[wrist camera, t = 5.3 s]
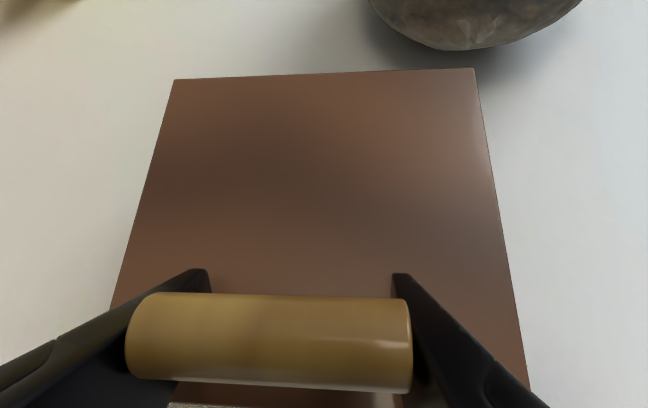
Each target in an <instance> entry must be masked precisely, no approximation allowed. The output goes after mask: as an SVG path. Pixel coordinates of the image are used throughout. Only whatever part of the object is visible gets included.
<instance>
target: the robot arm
mask: <svg viewBox="0 0 648 408" xmlns="http://www.w3.org/2000/svg"><path fill="white" fill-rule="evenodd" d="M156 292H186V293H212V290H211V285H210V280H209V275H208V272H207V270H205V269H201V268H191V269H189V270H187V271H185V272H183V273H181V274H179V275H177V276H175V277H173V278H171V279H169V280H167V281H165V282H163V283H162V284H160V285H158V286H156V287H154V288H152V289H150V290H148V291H146V292H144V293H142V294H140V295H138V296H136V297H134V298H133V299H131V300H129V301H127V302H125V303H123V304H121V305H119V306H117V307H115V308H113V309H111V310H109V311H107V312H105V313H104V314H102V315H100V316H98V317H96V318H94V319H92V320H90V321H88V322H86V323H84V324H82V325H80V326H78V327H76V328H75V329H73V330H71V331H69V332H67V333H65V334H63V335H61V336H59V337H58V338H57V339H56V340H55V339H53V340H51V341H49V342H47V343H45V344H43V345H41V346H40V347H38V348H36V349H34V350H32V351H30V352H28V353H26V354H24V355H22V356H20V357H18V358H16V359H14V360H12V361H10V362H8V363H6V364H4V365H2V366H0V408H167V406H168V404H169V402H170V400H171V398H172V396H173V394H174V392H175V390H176V388H177V386H178V383H179V381H173V380H156V379H140V378H137V377H136V376H134V375H133V374H132V373H131V372H130V371H129V370H128V368H127V365H126V362H125V356H124V344H125V336H126V332H127V328H128V325H129V322H130V320H131V317H132V315H133V313H134V311H135V310H136V308H137V307H138V305H139V304H140V303H141V302H142V301H143V300H144V299H145V298H146V297H147V296H149V295H151V294H153V293H156ZM391 298H395V299H403V300H405V301H406V304H407V306H408V310H409V315H410V321H411V330H412V343H413V378H412V385H411V389H410V392H409V393H406V394H401V398H402V403H403V408H550V407H549V406H548V405H546V404H545V403H544V402H543V401H542V400H541V399H539V398H538V397H537V396H536V395H535V394H534V393H532V392H531V391H530V390H529V389H528V388H527V387H526V386H525V385H524V384H523V383H522V382H521V381H519V380H518V379H517V378H516V377H515V376H514V375H513V374H512V373H511V372H510V371H509V370H508V369H507V368H506V367H505V366H504V365H503V364H502V363H501V362H500V361H498V360H496V358H495V357H494V356H493V355H492V354H491V353H490V352H489V351H488V350H487V349H486V348H485V347H484V346H483V345H482V344H481V343H480V342H479V341H478V340H477V339H476V338H475V337H474V336H473V335H471V334H470V333H469V332H468V331H467V330H466V329H465V328H464V327H463V326H462V325H461V324H460V323H459V322H458V321H457V320H456V319H455V318H454V317H453V316H452V315H451V314H450V313H449V312H448V311H447V310H446V309H445V308H444V307H443V306H442V305H441V304H440V303H439V302H437V301H436V300H435V299H434V298H433V297H432V296H431V295H430V294H429V293H428V292H427V291H426V290H425V289H424V288H423V287H422V286H421V285H420V284H419V283H418V282H417V281H416V280H415V279H414V278H413V277H412V276H411V275H410V274H408V273H393V274H392V277H391Z"/></svg>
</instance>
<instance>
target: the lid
mask: <svg viewBox="0 0 648 408" xmlns="http://www.w3.org/2000/svg"><path fill="white" fill-rule="evenodd" d="M191 268H201V269H205V270H207V272H208V275H209V280H210V285H211V290H212V293H186V292H156V293H153V294H151V295H149V296H147V297H146V298H145V299H144V300H143V301H142V302H141V303H140V304H139V305H138V307H137V308H136V310H135V311H134V313H133V315H132V317H131V320H130V322H129V325H128V328H127V332H126V336H125V344H124V356H125V362H126V365H127V368H128V370H129V371H130V372H131V373H132V374H133V375H134V376H136V377H137V378H140V379H156V380H173V381H179V383H178V386H177V388H176V390H175V392H174V394H173V396H172V398H171V400H170V402H169V403H180V404H195V405H210V406H226V407H241V408H403V403H402V398H401V394H406V393H409V392H410V389H411V385H412V378H413V343H412V330H411V321H410V315H409V310H408V306H407V304H406V301H405V300H403V299H395V298H391V277H392V274H393V273H408V274H410V275H411V276H412V277H413V278H414V279H415V280H416V281H417V282H418V283H419V284H420V285H421V286H422V287H423V288H424V289H425V290H426V291H427V292H428V293H429V294H430V295H431V296H432V297H433V298H434V299H435V300H436V301H437V302H439V303H440V304H441V305H442V306H443V307H444V308H445V309H446V310H447V311H448V312H449V313H450V314H451V315H452V316H453V317H454V318H455V319H456V320H457V321H458V322H459V323H460V324H461V325H462V326H463V327H464V328H465V329H466V330H467V331H468V332H469V333H470V334H471V335H473V336H474V337H475V338H476V339H477V340H478V341H479V342H480V343H481V344H482V345H483V346H484V347H485V348H486V349H487V350H488V351H489V352H490V353H491V354H492V355H493V356H494V357H495V358H496V360H498V361H500V362H501V363H502V364H503V365H504V366H505V367H506V368H507V369H508V370H509V371H510V372H511V373H512V374H513V375H514V376H515V377H516V378H517V379H518V380H519V381H521V382H522V383H523V384H524V385H525V386H526V387H527V388H528V389H529V390H530V391H531V389H530V383H529V377H528V372H527V366H526V360H525V355H524V349H523V343H522V338H521V332H520V326H519V321H518V315H517V309H516V304H515V298H514V292H513V286H512V281H511V275H510V269H509V264H508V258H507V252H506V247H505V241H504V235H503V230H502V224H501V218H500V213H499V207H498V201H497V196H496V190H495V184H494V179H493V173H492V167H491V162H490V156H489V150H488V144H487V139H486V133H485V127H484V122H483V116H482V110H481V105H480V99H479V93H478V88H477V82H476V76H475V71H474V67H464V68H440V69H416V70H392V71H367V72H343V73H319V74H295V75H270V76H246V77H222V78H198V79H175V80H174V82H173V86H172V89H171V93H170V96H169V100H168V103H167V107H166V110H165V114H164V117H163V121H162V125H161V128H160V132H159V135H158V139H157V142H156V146H155V149H154V153H153V156H152V160H151V164H150V167H149V171H148V174H147V178H146V181H145V185H144V188H143V192H142V195H141V199H140V202H139V206H138V210H137V213H136V217H135V220H134V224H133V227H132V231H131V234H130V238H129V241H128V245H127V249H126V252H125V256H124V259H123V263H122V266H121V270H120V273H119V277H118V280H117V284H116V287H115V291H114V295H113V298H112V302H111V305H110V309H109V310H111V309H113V308H115V307H117V306H119V305H121V304H123V303H125V302H127V301H129V300H131V299H133V298H134V297H136V296H138V295H140V294H142V293H144V292H146V291H148V290H150V289H152V288H154V287H156V286H158V285H160V284H162V283H163V282H165V281H167V280H169V279H171V278H173V277H175V276H177V275H179V274H181V273H183V272H185V271H187V270H189V269H191Z"/></svg>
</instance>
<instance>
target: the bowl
mask: <svg viewBox="0 0 648 408" xmlns="http://www.w3.org/2000/svg"><path fill="white" fill-rule="evenodd" d="M581 1H582V0H369V3H370V4H371V6H372V8H373V9H374V10H375V12H376V13H377V14H378V16H379V17H380V18H381V19H382V20H383V21H384V22H385V23H386V24H388V25H389V26H390V27H391V28H393V29H394V30H396V31H398V32H400V33H401V34H403V35H405V36H407V37H409V38H410V39H412V40H415V41H417V42H420V43H422V44H424V45H426V46H428V47H431V48H435V49H439V50H454V51H461V50H472V49H478V48H487V47H494V46H499V45H503V44H507V43H511V42H514V41H517V40H519V39H522V38H524V37H526V36H528V35H530V34H532V33H535V32H537V31H539V30H541V29H543V28H545V27H547V26H549V25H551V24H552V23H554V22H556V21H557V20H559V19H560V18H562V17H563V16H564V15H566V14H567V13H568V12H569V11H571V10H572V9H573V8H575V7H576V6H577V5H578V4H579V3H580V2H581Z"/></svg>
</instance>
